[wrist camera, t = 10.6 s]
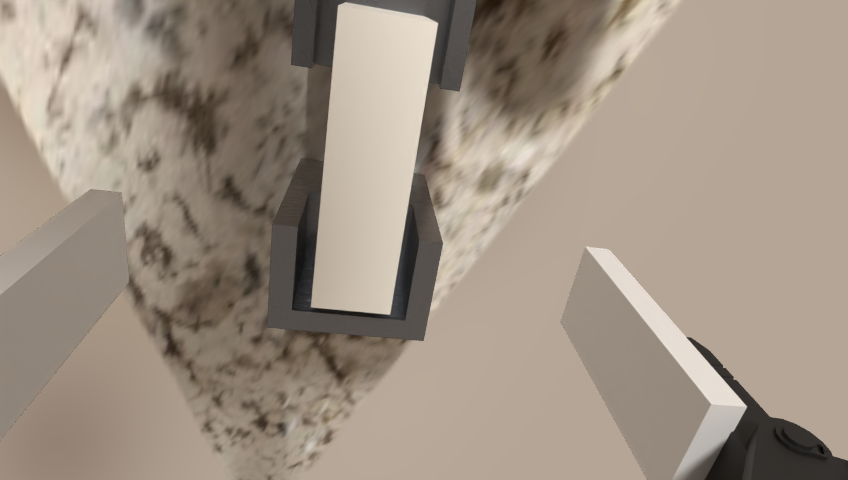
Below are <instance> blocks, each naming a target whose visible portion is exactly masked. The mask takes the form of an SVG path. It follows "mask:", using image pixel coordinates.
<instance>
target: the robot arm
mask: <svg viewBox="0 0 848 480" xmlns="http://www.w3.org/2000/svg"><path fill="white" fill-rule="evenodd" d="M128 283H129V272H128V260H127V249H126V237H125V225H124V213H123V201H122V193H120V192H111V191H102V190H94V189H90V190H89V191H88V192H86V193H85V194H83V195H82V196H81V197H79V198H78V199H77V200H75V201H74V202H73V203H71V204H70V205H69V206H67V207H66V208H64V209H63V210H62V211H60V212H59V213H58V214H56V215H55V216H54V217H52V218H51V219H49V220H48V221H47V222H45V223H44V224H43V225H41V226H40V227H39V228H37V229H36V230H35V231H33V232H32V233H30V234H29V235H28V236H26V237H25V238H24V239H22V240H21V241H19V242H18V243H17V244H16V245H14V246H13V247H11V248H10V249H9V250H7V251H6V252H4V253H3V254H2V255H0V440H1V439H2V438H3V437H4V435H5V434H6V433H7V432H8V430H9V429H10V428H11V427H12V426H13V424H14V423H15V422H16V421H17V419H18V418H19V417H20V416H21V415H22V413H23V412H24V411H25V410H26V408H27V407H28V406H29V405H30V403H31V402H32V401H33V400H34V398H35V397H36V396H37V395H38V394H39V392H40V391H41V390H42V389H43V387H44V386H45V385H46V384H47V382H48V381H49V380H50V379H51V378H52V376H53V375H54V374H55V373H56V371H57V370H58V369H59V368H60V366H61V365H62V364H63V363H64V362H65V360H66V359H67V358H68V357H69V355H70V354H71V353H72V352H73V350H74V349H75V348H76V347H77V346H78V344H79V343H80V342H81V341H82V339H83V338H84V337H85V336H86V335H87V333H88V332H89V331H90V329H91V328H92V327H93V326H94V325H95V323H96V322H97V321H98V320H99V318H100V317H101V316H102V315H103V314H104V312H105V311H106V310H107V309H108V307H109V306H110V305H111V304H112V303H113V301H114V300H115V299H116V298H117V296H118V295H119V294H120V293H121V291H122V290H123V289H124V288H125V287H126V285H127V284H128ZM561 324H562V326H563V328H564V329H565V331H566V333H567V335H568V337H569V339H570V340H571V342H572V344H573V346H574V348H575V349H576V351H577V353H578V355H579V357H580V359H581V360H582V362H583V364H584V366H585V367H586V369H587V371H588V373H589V375H590V377H591V379H592V380H593V382H594V384H595V386H596V388H597V390H598V391H599V393H600V395H601V397H602V399H603V400H604V402H605V404H606V406H607V408H608V409H609V411H610V413H611V415H612V417H613V419H614V420H615V422H616V424H617V426H618V428H619V430H620V431H621V433H622V435H623V437H624V439H625V441H626V442H627V444H628V446H629V448H630V450H631V451H632V453H633V455H634V457H635V459H636V460H637V462H638V464H639V466H640V468H641V470H642V471H643V473H644V475H645V477H646V479H647V480H848V461H847V460H844V459H840V458H837V457H833V456H832V453H831V451H830V450H829V449H828V448H827V447H826V445H825V444H824V443H823V442H822V441H821V440H819V439H818V438H817V437H816V436H814V435H813V434H812V433H811V432H809V431H807V430H806V429H804V428H802V427H800V426H798V425H797V424H794V423H792V422H789V421H786V420H784V419H779V418H772V417H769V416H768V414H767V413H766V412H765V411H764V410H763V409H762V408H761V407H760V406H759V404H758V403H757V402H756V401H755V400H754V399H753V398H752V397H751V396H750V395H749V394H748V392H747V391H746V390H745V389H744V388H743V387H742V386H741V385H740V384H739V382H738V381H736V380H734V379H733V376H732V375H731V374H730V373H729V371H728V370H727V369H726V368H723V365H722V364H721V363H720V362H719V361H718V359H717V358H716V357H715V356H714V355H713V354H712V353H711V352H710V351H709V350H708V349H706V348H705V347H704V346H702V345H701V344H699V343H698V342H696V341H695V340H693V339H692V338H689V337H685V335H684V334H683V333H682V332H681V331H680V330H679V329H678V327H677V326H676V325H675V324H674V323H673V322H672V321H671V319H670V318H669V317H668V316H667V315H666V314H665V313H664V312H663V310H662V309H661V308H660V307H659V306H658V305H657V304H656V302H655V301H654V300H653V299H652V298H651V297H650V296H649V294H647V292H646V291H645V290H644V289H643V288H642V286H641V285H640V284H639V283H638V282H637V281H636V280H635V279H634V277H633V276H632V275H631V274H630V273H629V272H628V271H627V269H626V268H625V267H624V266H623V265H622V264H621V263H620V262H619V260H618V259H617V258H616V257H615V256H614V255H613V254H612V253H611V251H610V250H609V249H601V248H592V247H585V250H584V252H583V255H582V258H581V261H580V264H579V268H578V270H577V273H576V276H575V279H574V282H573V285H572V288H571V291H570V295H569V297H568V301H567V303H566V307H565V310H564V313H563V316H562V319H561Z"/></svg>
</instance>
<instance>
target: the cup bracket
mask: <svg viewBox="0 0 848 480" xmlns="http://www.w3.org/2000/svg"><path fill="white" fill-rule="evenodd" d="M323 167H324V161H316V160H309V159H301V160H300V162H299V164H298V167H297V169H296V171H295V173H294V176H293V178H292V180H291V183H290V185H289V187H288V189H287V192H286V194H285V196H284V199H283V201H282V203H281V206H280V208H279V210H278V212H277V215H276V217H275V219H274V222H273V224H272V241H271V261H270V282H269V302H268V322H267V327H268V328H279V329H291V330H303V331H314V332H326V333H338V334H349V335H361V336H373V337H384V338H396V339H408V340H419V341H423V340H424V336H425V331H426V326H427V321H428V316H429V311H430V306H431V301H432V296H433V291H434V286H435V281H436V276H437V271H438V266H439V261H440V256H441V251H442V246H443V242H442V238H441V235H440V231H439V227H438V224H437V220H436V216H435V213H434V209H433V205H432V201H431V198H430V194H429V190H428V187H427V183H426V179H425V176H424V175H422V174H414V173H413V179H412V185H411V191H410V197H409V203H408V209H407V215H406V221H405V227H404V233H403V240H402V246H401V252H400V258H399V264H398V270H397V276H396V282H395V288H394V294H393V300H392V306H391V312H390V315H388V314H377V313H366V312H356V311H345V310H334V309H323V308H313V307H311V300H312V289H313V278H314V267H315V256H316V245H317V234H318V223H319V212H320V201H321V190H322V178H323Z"/></svg>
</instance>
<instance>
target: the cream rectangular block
mask: <svg viewBox="0 0 848 480" xmlns="http://www.w3.org/2000/svg"><path fill="white" fill-rule="evenodd" d="M437 27H438V23H437V22H435V21H433V20H431V19H429V18H427V17H425V16H420V15H414V14H409V13H403V12H398V11H392V10H386V9H381V8H375V7H369V6H364V5H358V4H353V3H347V2H345V3H343V4H340V5H338V12H337V24H336V35H335V46H334V57H333V68H332V79H331V90H330V101H329V112H328V123H327V134H326V145H325V156H324V167H323V178H322V190H321V201H320V212H319V223H318V234H317V245H316V256H315V267H314V278H313V289H312V300H311V307H313V308H323V309H334V310H345V311H356V312H366V313H377V314H388V315H390V312H391V306H392V300H393V294H394V288H395V282H396V276H397V270H398V264H399V258H400V252H401V246H402V240H403V233H404V227H405V221H406V215H407V209H408V203H409V197H410V191H411V185H412V179H413V173H414V167H415V161H416V154H417V148H418V142H419V136H420V130H421V124H422V118H423V112H424V106H425V100H426V94H427V88H428V81H429V75H430V69H431V63H432V57H433V51H434V45H435V39H436V33H437Z"/></svg>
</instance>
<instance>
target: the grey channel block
mask: <svg viewBox="0 0 848 480" xmlns="http://www.w3.org/2000/svg"><path fill="white" fill-rule="evenodd" d="M345 2H347V3H353V4H358V5H364V6H369V7H375V8H381V9H386V10H392V11H398V12H403V13H409V14H414V15H420V16H425V17H427V18H429V19H431V20H433V21H435V22H437V23H438V27H437V33H436V39H435V45H434V51H433V57H432V63H431V69H430V75H429V81H428V82H431V83H437V84H438V86H439V87H440V88H441V89H447V90H454V91H460V87H461V81H462V76H463V71H464V65H465V60H466V55H467V49H468V44H469V39H470V34H471V28H472V23H473V18H474V12H475V7H476V2H477V0H295V7H294V24H293V41H292V58H291V65H295V66H301V67H308V68H313V66H314V65H315V64H318V65H324V66H331V67H333V57H334V46H335V35H336V24H337V12H338V5H340V4H343V3H345Z"/></svg>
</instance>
